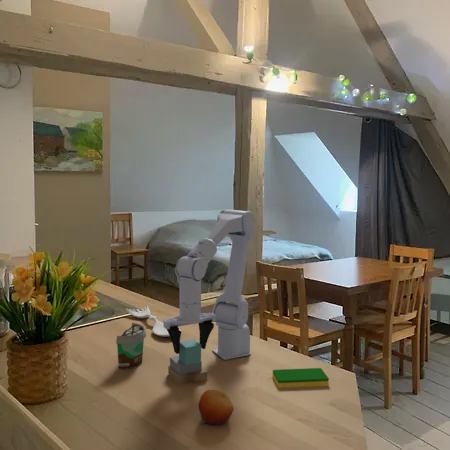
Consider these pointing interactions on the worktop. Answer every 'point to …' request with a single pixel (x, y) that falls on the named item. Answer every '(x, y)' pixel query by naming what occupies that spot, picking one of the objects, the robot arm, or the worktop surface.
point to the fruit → (215, 407)
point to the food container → (131, 347)
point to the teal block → (190, 352)
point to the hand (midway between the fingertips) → (189, 350)
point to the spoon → (145, 313)
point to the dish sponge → (300, 378)
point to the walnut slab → (187, 376)
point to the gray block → (183, 369)
